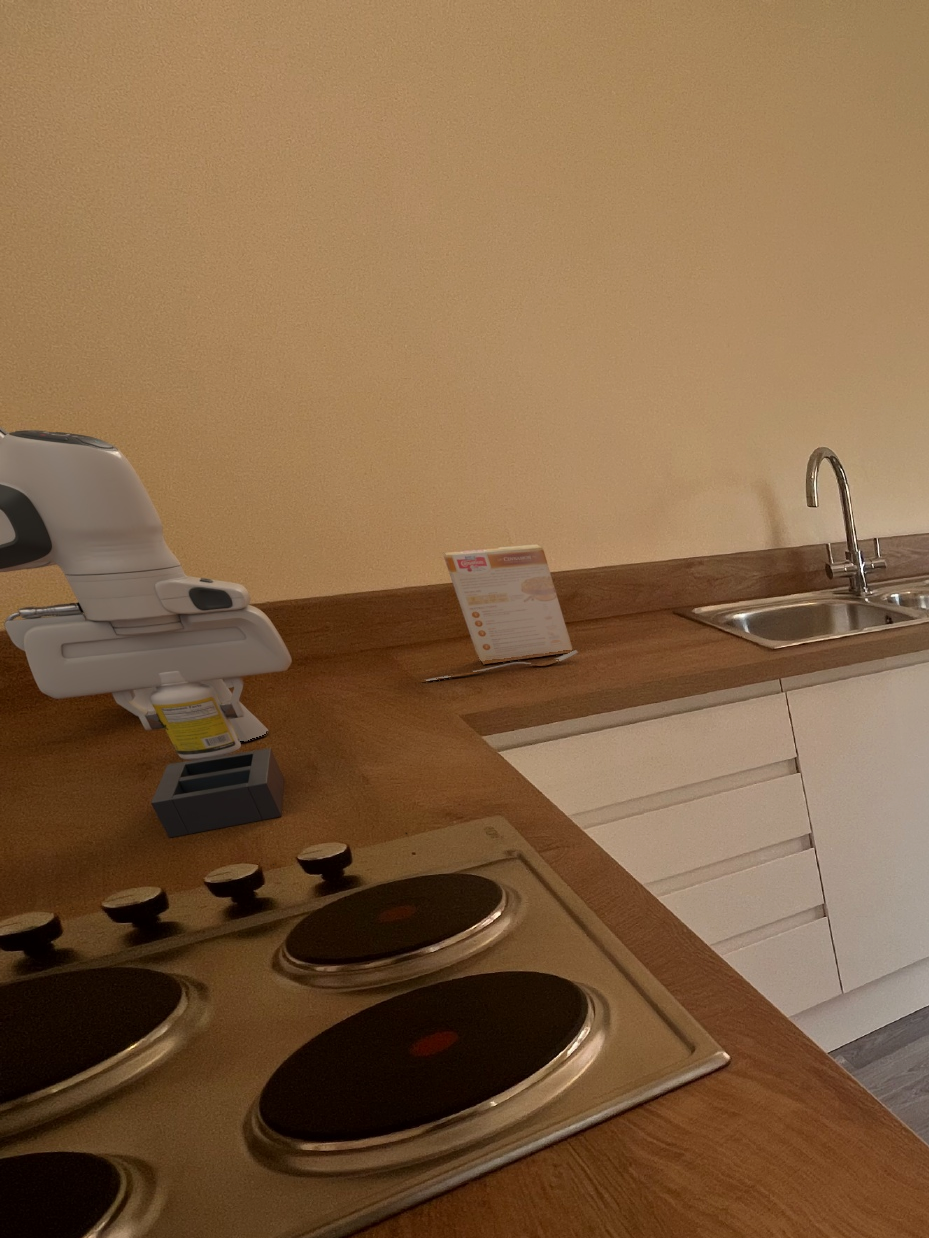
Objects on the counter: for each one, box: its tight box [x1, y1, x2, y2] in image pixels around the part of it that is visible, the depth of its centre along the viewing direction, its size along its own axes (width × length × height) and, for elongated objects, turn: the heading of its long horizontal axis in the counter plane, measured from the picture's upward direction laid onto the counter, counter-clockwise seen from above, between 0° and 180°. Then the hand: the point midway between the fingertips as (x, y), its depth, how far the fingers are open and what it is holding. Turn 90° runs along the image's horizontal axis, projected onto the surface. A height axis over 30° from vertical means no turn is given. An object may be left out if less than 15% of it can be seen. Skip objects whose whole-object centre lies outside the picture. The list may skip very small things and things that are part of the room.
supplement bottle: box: [150, 671, 242, 761], centre depth 107 cm, size 5×5×10 cm
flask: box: [200, 679, 269, 742], centre depth 131 cm, size 7×7×10 cm
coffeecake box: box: [442, 543, 574, 661], centre depth 176 cm, size 15×7×20 cm, turn 130°
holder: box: [150, 747, 285, 839], centre depth 108 cm, size 9×17×4 cm, turn 40°
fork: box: [425, 649, 579, 681], centre depth 169 cm, size 3×24×2 cm, turn 131°
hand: (197, 722), depth 108 cm, fingers closed on supplement bottle, 5 cm apart
